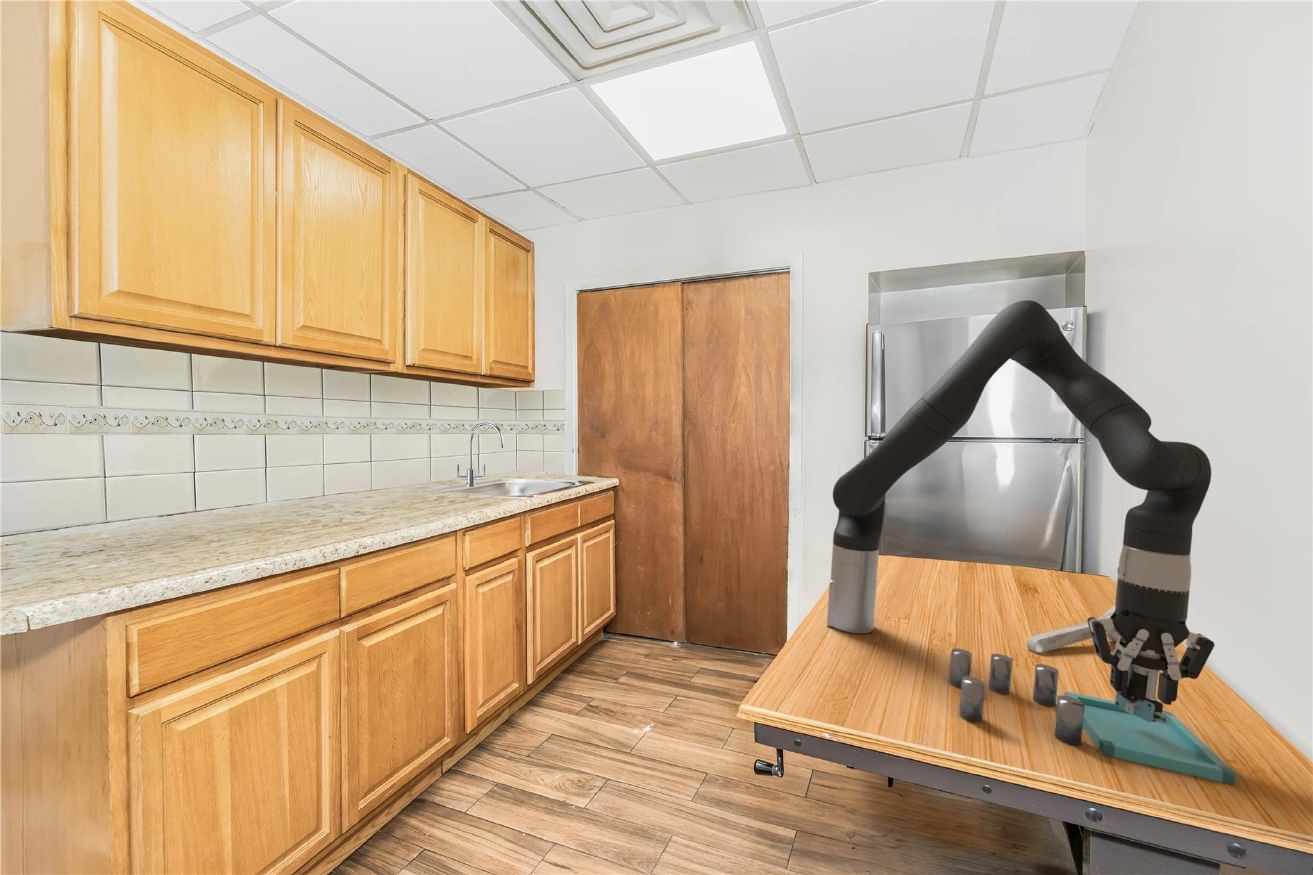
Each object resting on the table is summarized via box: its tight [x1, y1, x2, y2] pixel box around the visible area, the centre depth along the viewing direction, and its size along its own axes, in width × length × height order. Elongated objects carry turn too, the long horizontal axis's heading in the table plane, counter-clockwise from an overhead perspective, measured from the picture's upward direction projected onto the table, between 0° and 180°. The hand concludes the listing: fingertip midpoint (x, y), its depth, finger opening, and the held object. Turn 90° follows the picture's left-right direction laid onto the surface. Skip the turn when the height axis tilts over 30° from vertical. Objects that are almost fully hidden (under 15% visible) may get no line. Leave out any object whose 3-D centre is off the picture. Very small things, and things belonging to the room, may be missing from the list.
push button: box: [1115, 650, 1172, 726], centre depth 76 cm, size 7×5×10 cm
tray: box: [1064, 691, 1237, 786], centre depth 76 cm, size 13×15×2 cm
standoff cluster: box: [948, 647, 1085, 747], centre depth 83 cm, size 15×15×6 cm
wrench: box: [1026, 604, 1120, 654], centre depth 109 cm, size 8×2×30 cm
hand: (1142, 696), depth 76 cm, fingers closed on push button, 4 cm apart
